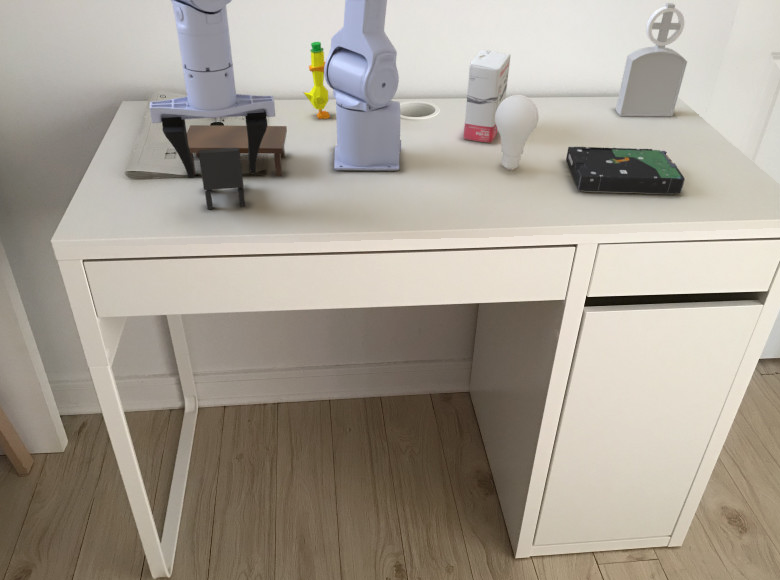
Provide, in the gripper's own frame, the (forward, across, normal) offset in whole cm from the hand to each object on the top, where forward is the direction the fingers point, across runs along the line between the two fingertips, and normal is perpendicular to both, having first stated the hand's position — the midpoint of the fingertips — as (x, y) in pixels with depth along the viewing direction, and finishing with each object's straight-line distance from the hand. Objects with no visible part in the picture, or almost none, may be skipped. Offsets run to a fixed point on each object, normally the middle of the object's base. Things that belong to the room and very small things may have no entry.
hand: (222, 172), depth 92 cm
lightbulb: (+5, -41, -5) cm, 42 cm away
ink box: (+5, -42, -19) cm, 46 cm away
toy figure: (+5, -17, -30) cm, 35 cm away
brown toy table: (+5, -2, -13) cm, 14 cm away
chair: (+5, 0, -3) cm, 6 cm away
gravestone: (+5, -73, -23) cm, 77 cm away
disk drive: (+5, -57, +1) cm, 57 cm away
